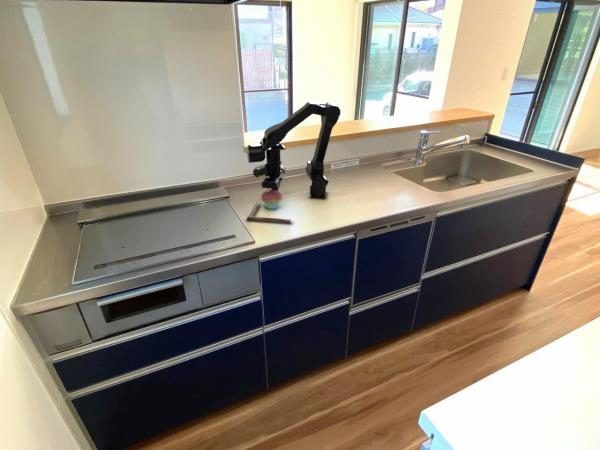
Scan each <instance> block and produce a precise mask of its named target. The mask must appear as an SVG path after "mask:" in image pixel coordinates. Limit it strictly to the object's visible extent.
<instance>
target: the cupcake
mask: <svg viewBox="0 0 600 450" xmlns="http://www.w3.org/2000/svg"><path fill="white" fill-rule="evenodd" d="M260 196H261V197H260V199H261V201H262V202H264V206H265V208H266V209H268V210H275V209H277V208H278V207H279V203H280V202H281V201H282V200H283V195H282V193H281V191H279V190H278V191H277V190H272V189H270V188H266V190H265V191H264V192H263V193H262V194H261V195H260Z"/></svg>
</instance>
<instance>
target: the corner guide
mask: <svg viewBox="0 0 600 450" xmlns="http://www.w3.org/2000/svg"><path fill="white" fill-rule="evenodd" d="M259 207H260V202H256V203H255V205H254V207H253V208H252V210H251V212H250V214H249V215H248V216H247V217H246V221H247V222H259V223H272V224H283V225H284V224H285V225H291V223H292V219H290V218H279V217H277V218H275V217H262V216H255V214H256V213H257V212H258V209H259Z"/></svg>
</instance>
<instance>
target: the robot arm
mask: <svg viewBox="0 0 600 450" xmlns="http://www.w3.org/2000/svg"><path fill="white" fill-rule="evenodd" d="M341 111H342V110H341V109H340V107H339V105H336V104H334V103H333V102H325V103H321V102H313V101H307V102H305V104H304V105H303V106H301V107H300V108H299V109H297V110H296V111H294V113H292V114H291V115H289V116H288V117H287V118H286V119H284V120H283V121H281V122H278V123H276V124H274V125H273V124H272V125H271V126H269V127H267V128H266V129H265V130H264V133H263V137H262V139H261V140H260V142H259V144H248V145H247V151H246V156H247V162H248V164H250V163H251V164H252V163H263V161H265V160H266V162H265V164H261V165H257V166H255V167H254V169H252V175H253V176H254V177H255V178H256V179H258V178H259V177H262V176H264V179H263V180H262V182H261V188H262V189H267V188H269V189H270V190H277V191H278V192H279V188H280V186H281V184H282V181H283V178H284V177H283V176H281V175H282V174H283V175H284V174H285V173H286V170H287V169H286V167H285V166H284V165H282V163H283V161H282V159H281V151H283V150H286V147H285V146H284V144H282V141H283V140H284V139H286V137H287V135H288V133H289V132H291V131H292V130H293V129H294V128H296V127H297V126H299V125H300V124H301V123H303V122H304V121H305V120H306V119H308V118H309V117H310V116H312V115H317V116H320V123H321V126H320V130H319V133H318V137H317V138H318V139H317V141H316V146H315V149H314V153H313V157H312V159H311V161H310V160H307V162H306V166H305V168H304V169H305V173H306V175H307V178H309V180H310V181H311V184H310V186H309V195H310V199H321V200H322V199H323V200H325V199H326V198H327V197H326V196H327V186H328V184H329V180H328V179H327V178H326V177H325V175H324V174H325V167H324V166H325V164H324V163H325V162H324V161H325V157H326V153H327V150H328V146H329V143H330V139H331V134H332V131H333V128H334V127H335V126H336V125H337V123H338V120H339V119H340V116H341Z"/></svg>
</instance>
